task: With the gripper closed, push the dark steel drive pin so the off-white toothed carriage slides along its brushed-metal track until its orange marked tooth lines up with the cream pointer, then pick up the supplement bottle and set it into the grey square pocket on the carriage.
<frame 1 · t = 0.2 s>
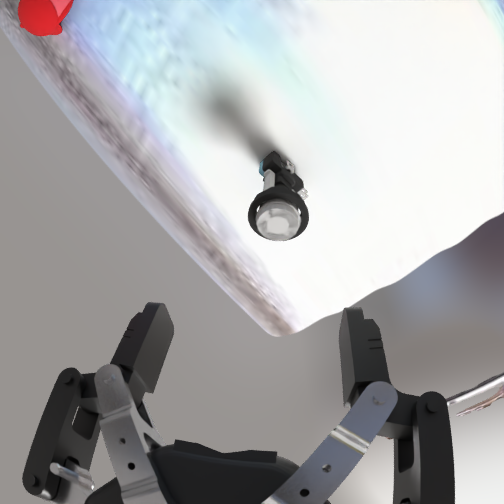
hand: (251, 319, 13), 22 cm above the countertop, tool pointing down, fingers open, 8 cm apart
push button: (285, 172, 32), on the countertop
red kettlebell: (60, 7, 17), on the countertop
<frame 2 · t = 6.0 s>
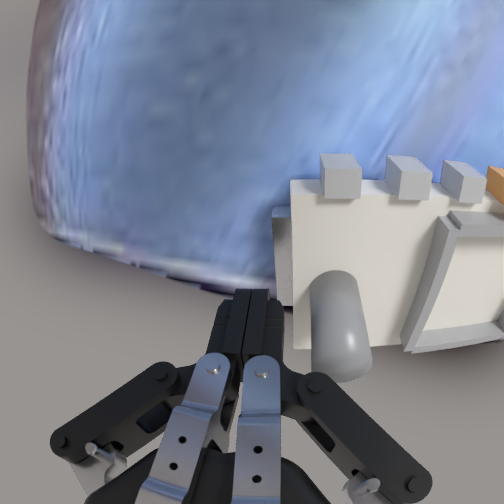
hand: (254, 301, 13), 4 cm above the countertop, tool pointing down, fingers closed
toothed carriage: (453, 295, 11), point 4 cm above the countertop, slide at 5.0 cm, touching gripper
index track: (449, 251, 15), on the countertop
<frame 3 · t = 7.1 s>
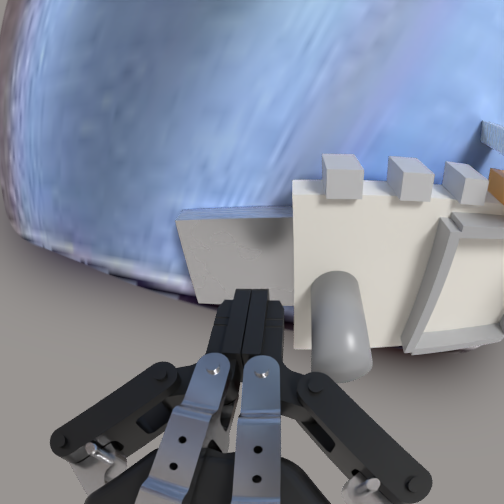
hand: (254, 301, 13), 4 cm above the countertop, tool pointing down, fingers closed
toothed carriage: (454, 297, 11), point 4 cm above the countertop, slide at 0.0 cm, touching gripper
index track: (379, 253, 16), on the countertop
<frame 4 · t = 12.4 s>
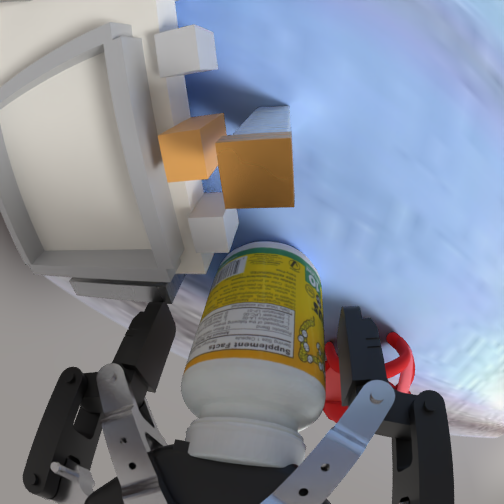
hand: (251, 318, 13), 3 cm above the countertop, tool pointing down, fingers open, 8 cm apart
toothed carriage: (30, 103, 6), point 4 cm above the countertop, slide at 0.0 cm
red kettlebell: (363, 347, 18), on the countertop
supplement bottle: (269, 278, 15), on the countertop
index track: (84, 30, 8), on the countertop
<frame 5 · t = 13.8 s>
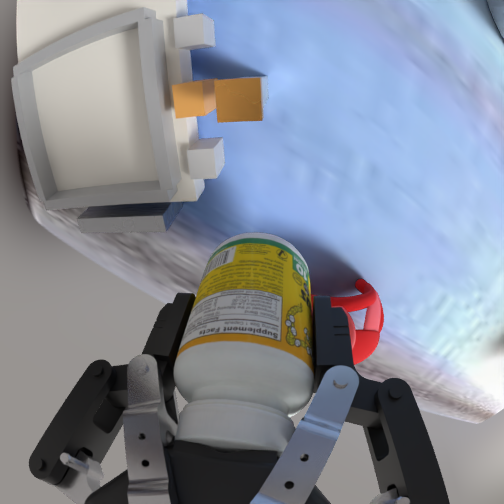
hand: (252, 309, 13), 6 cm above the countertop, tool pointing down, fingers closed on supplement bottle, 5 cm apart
toothed carriage: (73, 60, 8), point 4 cm above the countertop, slide at 0.0 cm
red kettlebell: (335, 295, 21), on the countertop
supplement bottle: (258, 269, 16), point 3 cm above the countertop, touching gripper
index track: (110, 13, 10), on the countertop
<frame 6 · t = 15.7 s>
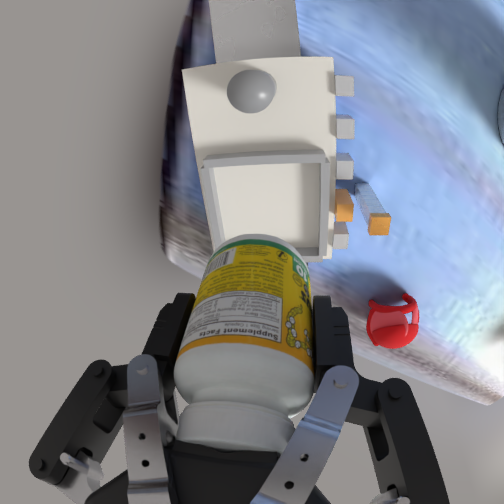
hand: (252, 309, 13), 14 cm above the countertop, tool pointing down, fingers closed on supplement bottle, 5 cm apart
toothed carriage: (273, 176, 19), point 4 cm above the countertop, slide at 0.0 cm
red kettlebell: (388, 304, 31), on the countertop
supplement bottle: (258, 270, 16), point 11 cm above the countertop, touching gripper
index track: (265, 121, 21), on the countertop
when the fingers open (6 cm above the countertop, at t = 17.4 s): supplement bottle stays where it is, resting on toothed carriage.
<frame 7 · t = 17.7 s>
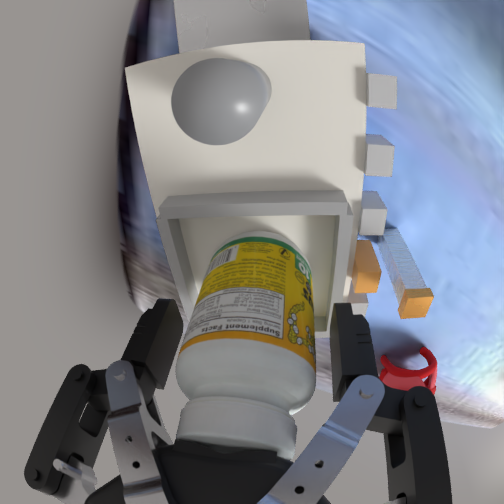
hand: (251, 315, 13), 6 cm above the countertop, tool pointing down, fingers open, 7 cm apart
toothed carriage: (264, 235, 12), point 4 cm above the countertop, slide at 0.0 cm, touching supplement bottle
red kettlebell: (403, 357, 24), on the countertop
supplement bottle: (261, 268, 16), point 3 cm above the countertop, touching toothed carriage
index track: (255, 140, 14), on the countertop
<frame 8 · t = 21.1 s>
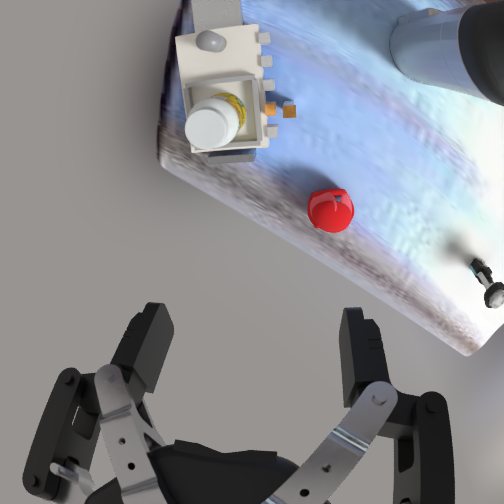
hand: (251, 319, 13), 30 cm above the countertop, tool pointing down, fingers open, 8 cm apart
toothed carriage: (224, 89, 29), point 4 cm above the countertop, slide at 0.0 cm, touching supplement bottle
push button: (479, 266, 44), on the countertop
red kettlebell: (328, 201, 41), on the countertop
supplement bottle: (225, 112, 32), point 3 cm above the countertop, touching toothed carriage
index track: (224, 66, 31), on the countertop
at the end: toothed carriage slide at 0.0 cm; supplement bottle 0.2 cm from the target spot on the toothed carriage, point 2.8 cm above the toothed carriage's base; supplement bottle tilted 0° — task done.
